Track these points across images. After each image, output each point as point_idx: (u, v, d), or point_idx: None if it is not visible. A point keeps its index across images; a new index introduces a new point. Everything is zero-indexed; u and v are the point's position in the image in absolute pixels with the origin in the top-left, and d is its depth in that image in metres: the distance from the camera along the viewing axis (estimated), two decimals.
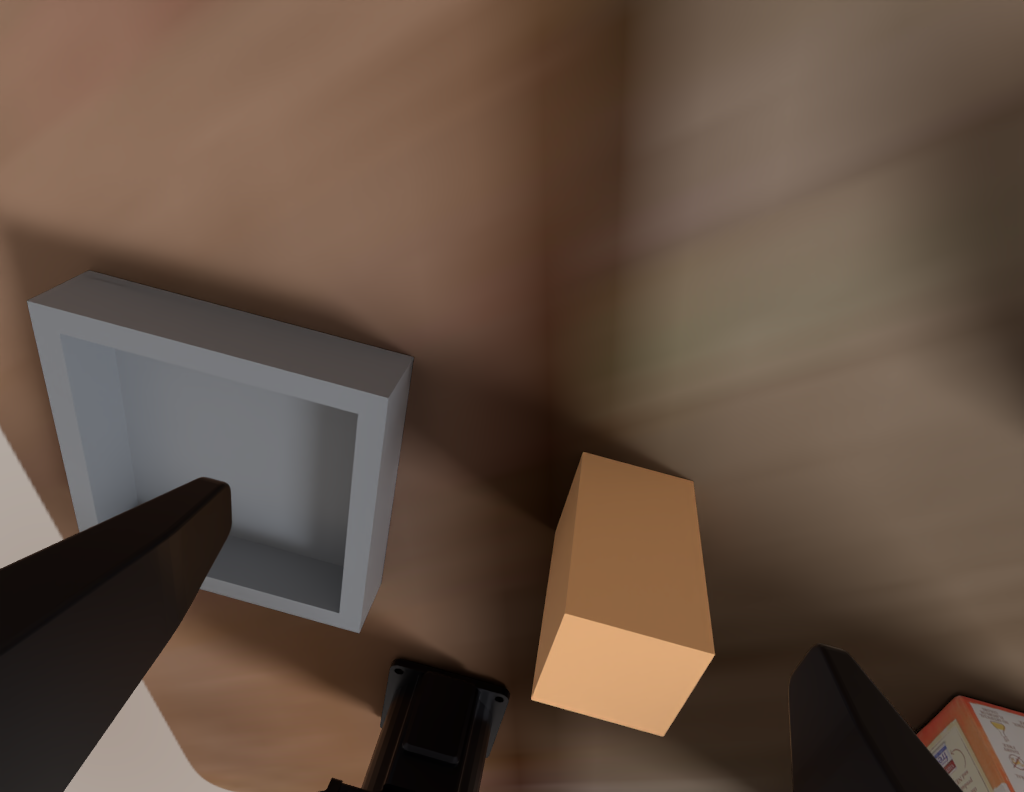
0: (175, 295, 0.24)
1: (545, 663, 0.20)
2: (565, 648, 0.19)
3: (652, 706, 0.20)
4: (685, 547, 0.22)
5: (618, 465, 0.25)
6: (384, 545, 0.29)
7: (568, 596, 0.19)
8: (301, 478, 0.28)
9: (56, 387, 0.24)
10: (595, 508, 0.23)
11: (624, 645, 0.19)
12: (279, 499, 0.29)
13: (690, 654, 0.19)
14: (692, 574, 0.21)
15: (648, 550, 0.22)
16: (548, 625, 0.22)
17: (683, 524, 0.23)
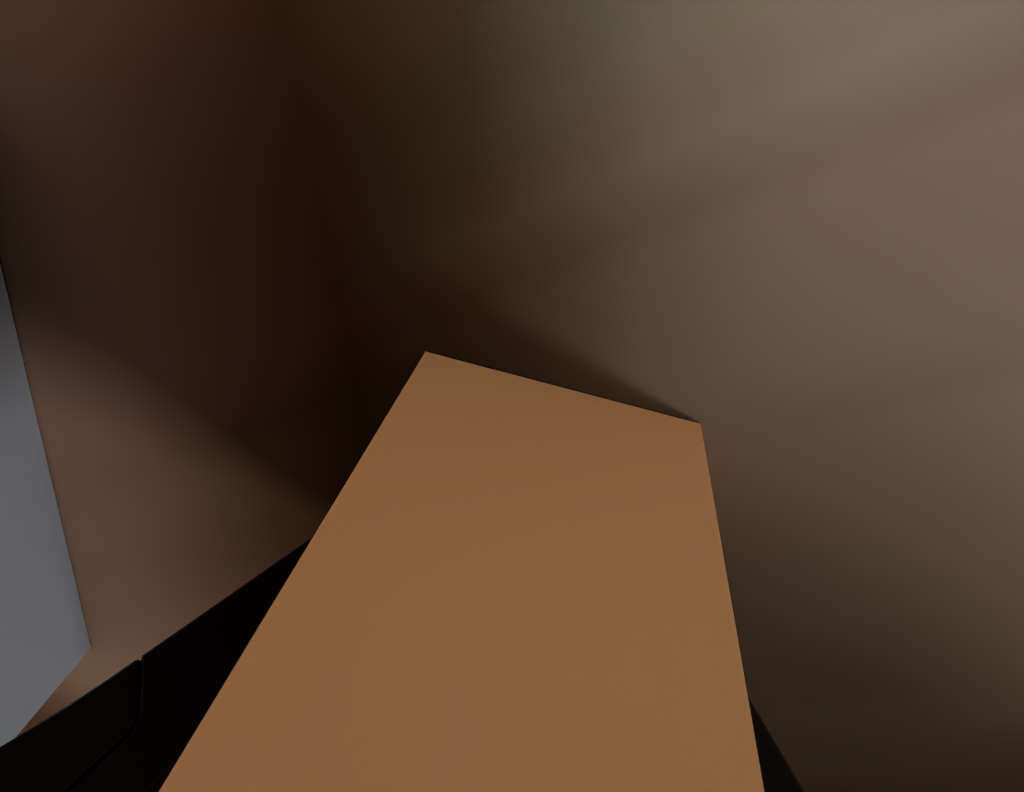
0: None
1: None
2: None
3: None
4: (681, 607, 0.07)
5: (511, 383, 0.10)
6: (56, 578, 0.14)
7: None
8: None
9: None
10: (407, 485, 0.08)
11: None
12: None
13: None
14: (705, 715, 0.06)
15: (552, 622, 0.06)
16: None
17: (674, 532, 0.08)
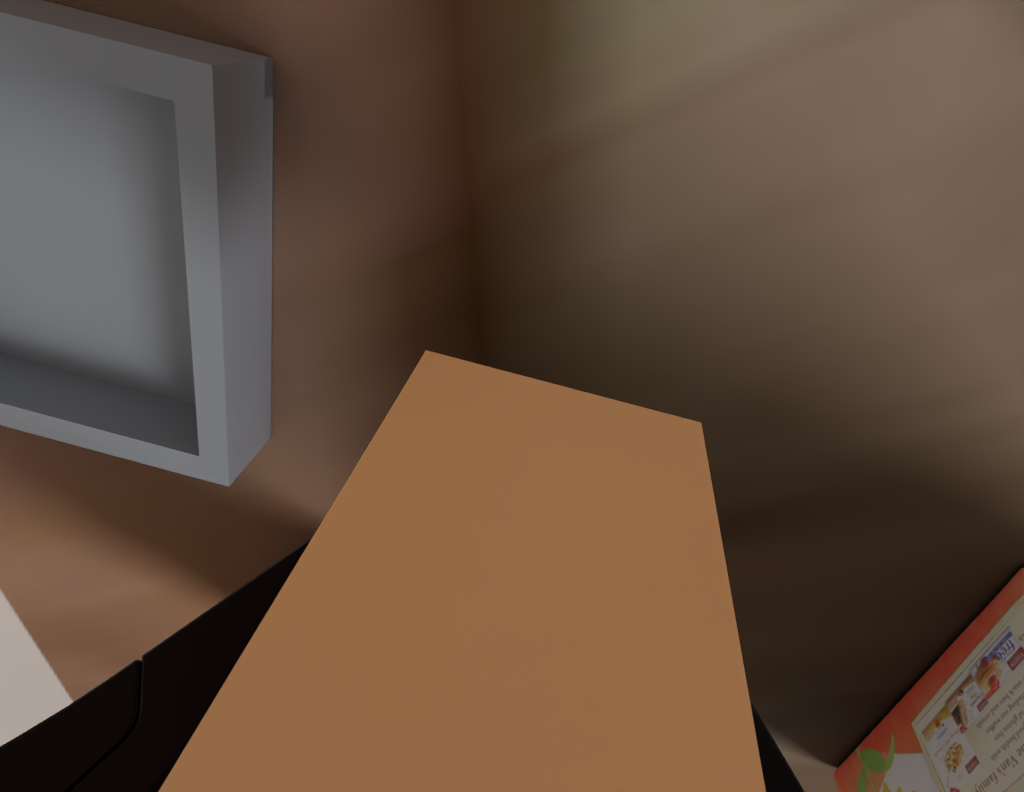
0: None
1: None
2: None
3: None
4: (681, 605, 0.07)
5: (511, 382, 0.10)
6: (265, 374, 0.22)
7: None
8: (145, 272, 0.21)
9: None
10: (407, 484, 0.07)
11: None
12: (122, 308, 0.22)
13: None
14: (706, 713, 0.06)
15: (553, 620, 0.06)
16: None
17: (675, 530, 0.08)
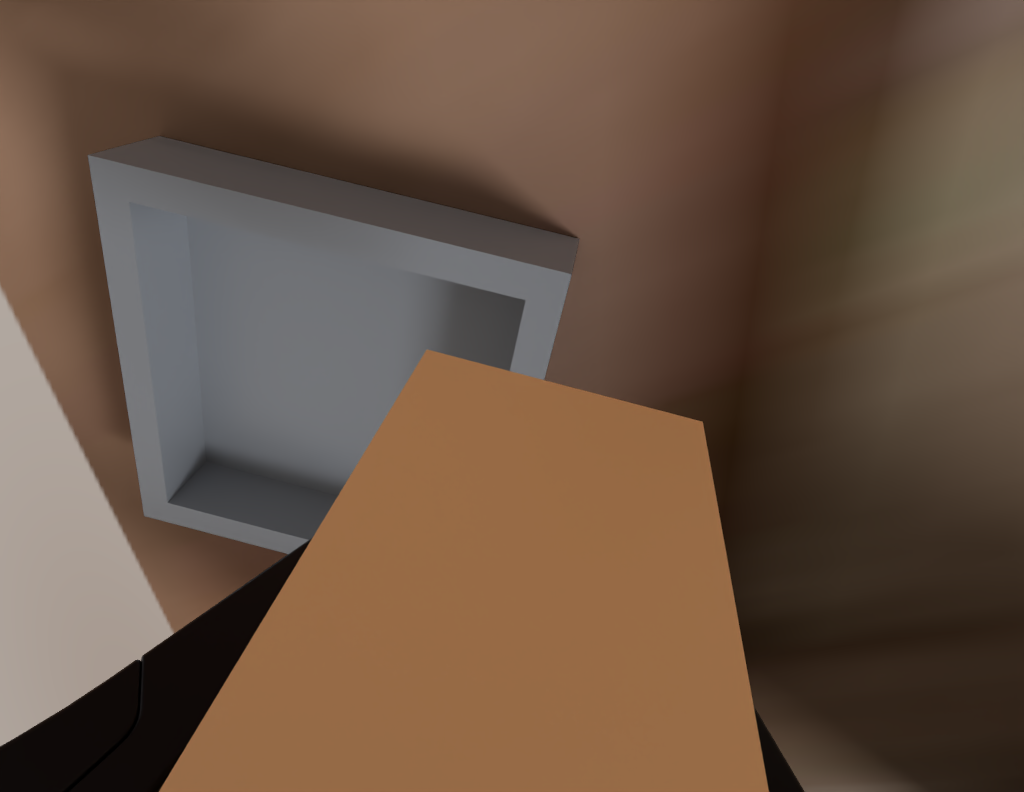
0: (271, 164, 0.19)
1: None
2: None
3: None
4: (684, 604, 0.07)
5: (512, 381, 0.10)
6: None
7: None
8: None
9: (120, 282, 0.19)
10: (409, 483, 0.07)
11: None
12: None
13: None
14: (709, 712, 0.06)
15: (554, 620, 0.06)
16: None
17: (677, 530, 0.08)
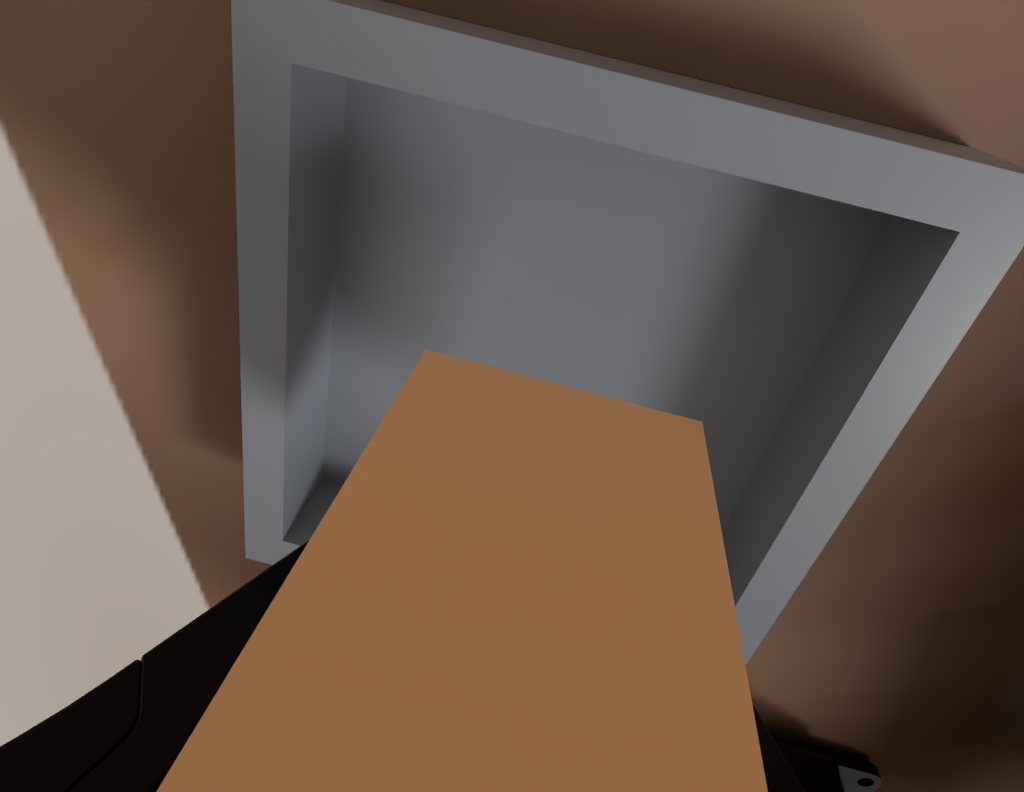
0: (489, 28, 0.12)
1: None
2: None
3: None
4: (682, 605, 0.07)
5: (511, 380, 0.10)
6: None
7: None
8: None
9: (258, 206, 0.12)
10: (407, 482, 0.07)
11: None
12: None
13: None
14: (707, 714, 0.06)
15: (553, 619, 0.06)
16: None
17: (676, 529, 0.08)
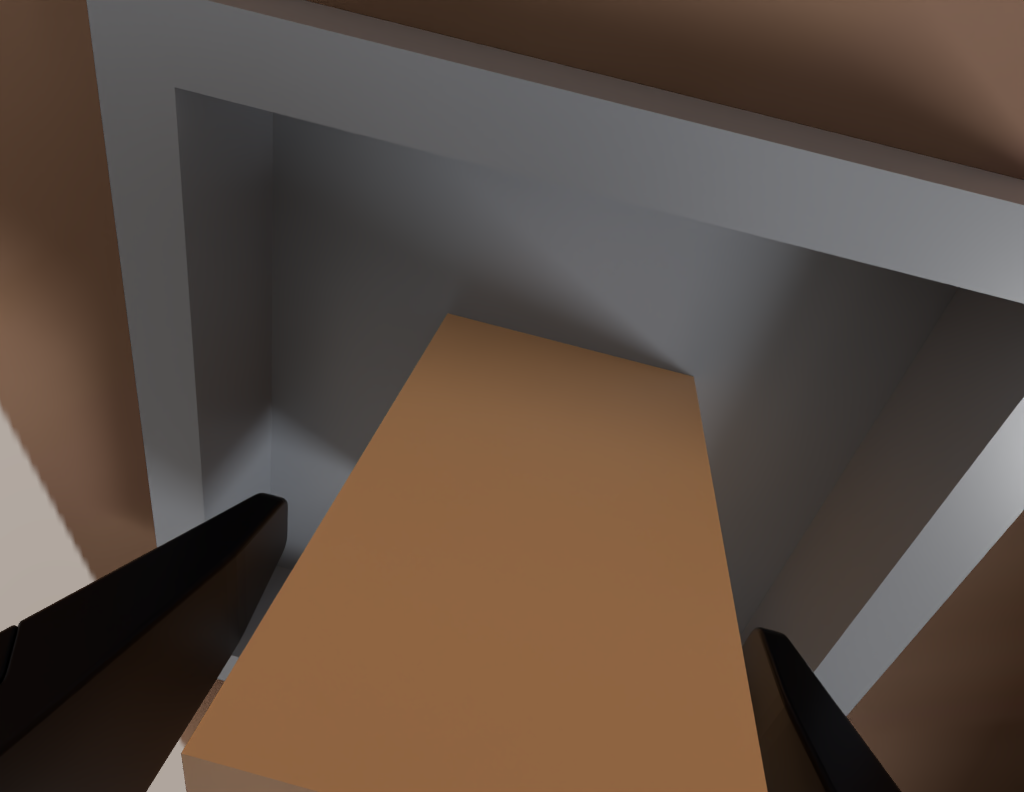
0: (451, 38, 0.09)
1: None
2: None
3: None
4: (674, 513, 0.08)
5: (524, 340, 0.11)
6: None
7: (235, 677, 0.05)
8: None
9: (148, 269, 0.09)
10: (439, 417, 0.09)
11: None
12: None
13: None
14: (694, 589, 0.07)
15: (566, 520, 0.08)
16: None
17: (669, 459, 0.09)
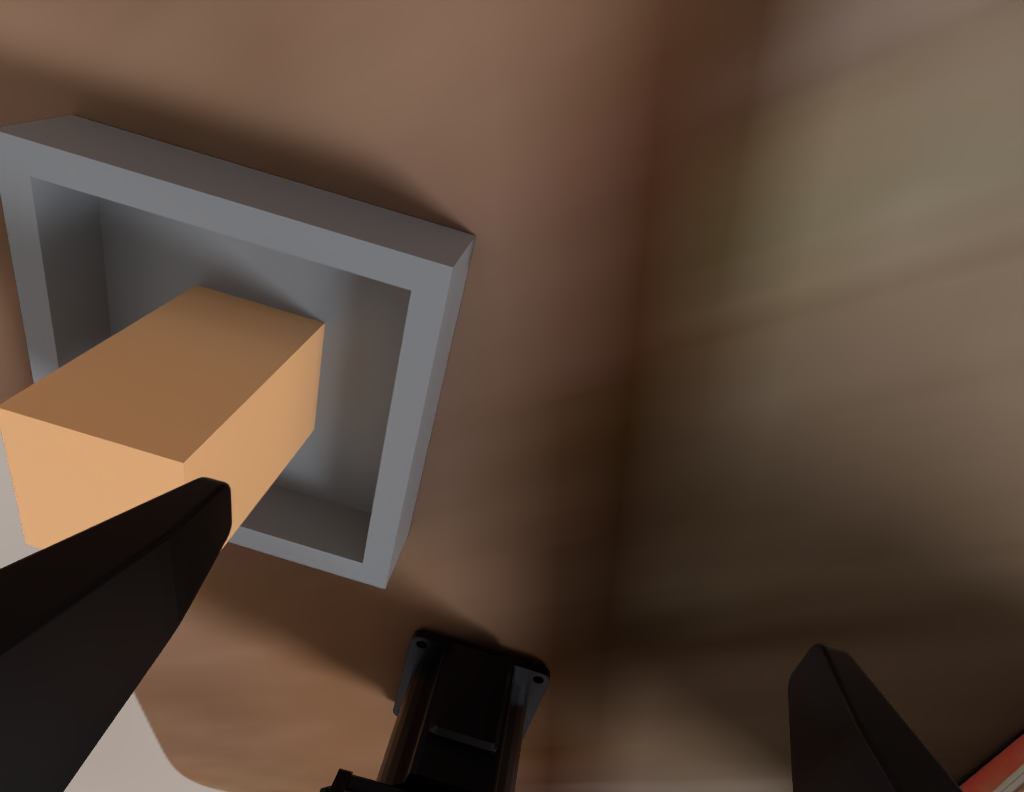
0: (180, 148, 0.20)
1: (15, 488, 0.16)
2: (23, 462, 0.15)
3: None
4: (249, 371, 0.18)
5: (233, 300, 0.21)
6: (417, 485, 0.24)
7: (20, 393, 0.15)
8: (322, 397, 0.23)
9: (23, 254, 0.19)
10: (156, 328, 0.19)
11: (81, 454, 0.15)
12: None
13: (157, 464, 0.15)
14: (233, 394, 0.17)
15: (191, 368, 0.18)
16: None
17: (269, 353, 0.19)
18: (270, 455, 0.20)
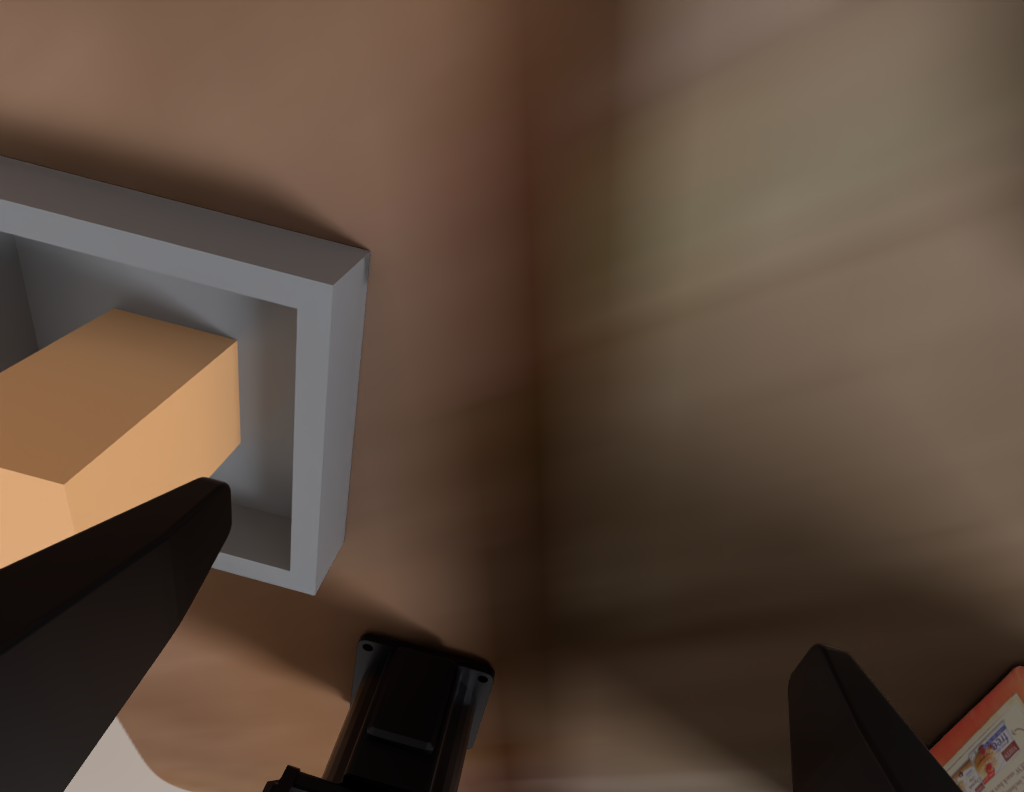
0: (84, 179, 0.20)
1: None
2: None
3: None
4: (149, 392, 0.19)
5: (148, 321, 0.22)
6: (344, 493, 0.25)
7: None
8: (244, 411, 0.24)
9: None
10: (63, 353, 0.20)
11: None
12: None
13: (40, 486, 0.15)
14: (127, 415, 0.18)
15: (91, 391, 0.18)
16: None
17: (173, 373, 0.20)
18: (183, 470, 0.21)
